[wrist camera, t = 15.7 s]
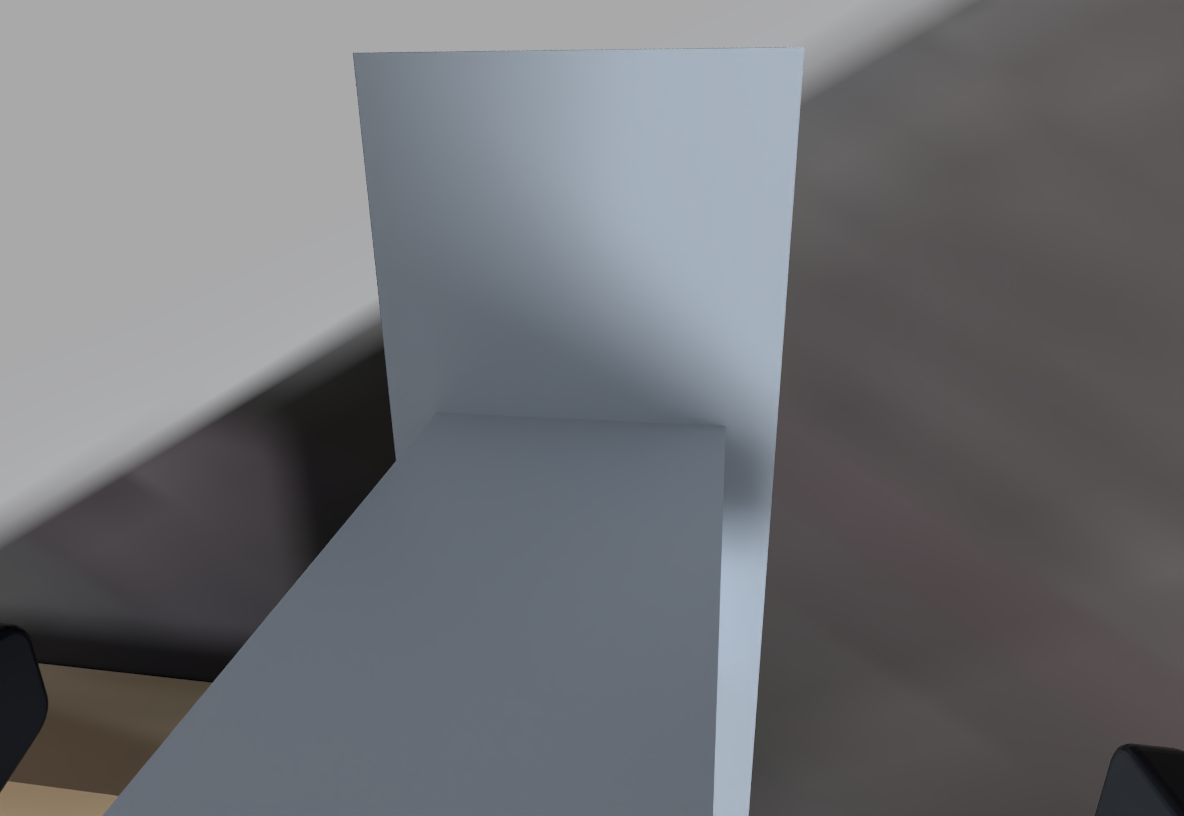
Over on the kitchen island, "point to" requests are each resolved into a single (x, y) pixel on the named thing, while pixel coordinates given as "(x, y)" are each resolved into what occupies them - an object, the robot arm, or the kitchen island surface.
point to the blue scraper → (538, 458)
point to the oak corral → (94, 739)
